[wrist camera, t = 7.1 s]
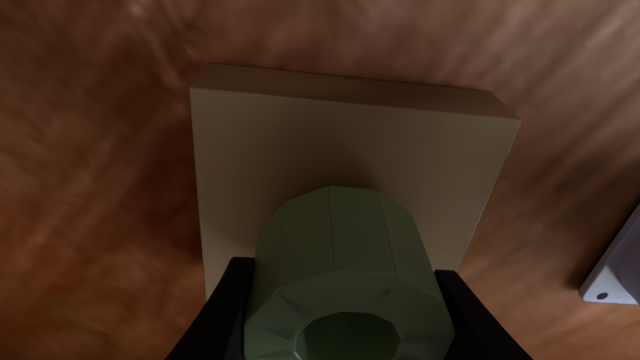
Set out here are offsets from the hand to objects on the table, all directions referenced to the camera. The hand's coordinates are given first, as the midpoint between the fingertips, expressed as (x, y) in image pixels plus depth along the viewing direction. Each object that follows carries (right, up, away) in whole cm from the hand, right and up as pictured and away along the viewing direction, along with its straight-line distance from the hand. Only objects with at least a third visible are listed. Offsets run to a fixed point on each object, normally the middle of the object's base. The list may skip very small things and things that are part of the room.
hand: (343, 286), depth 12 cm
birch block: (0, +3, +4) cm, 5 cm away
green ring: (0, +1, +1) cm, 1 cm away
